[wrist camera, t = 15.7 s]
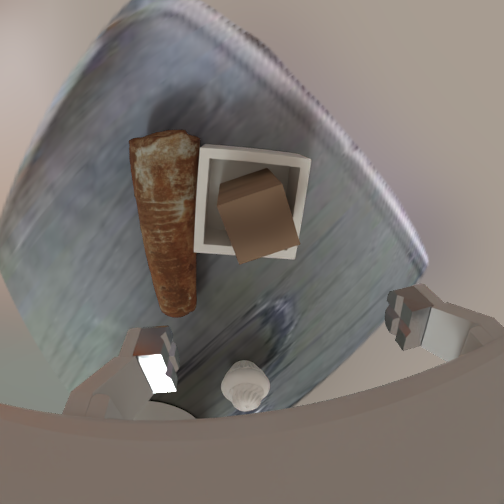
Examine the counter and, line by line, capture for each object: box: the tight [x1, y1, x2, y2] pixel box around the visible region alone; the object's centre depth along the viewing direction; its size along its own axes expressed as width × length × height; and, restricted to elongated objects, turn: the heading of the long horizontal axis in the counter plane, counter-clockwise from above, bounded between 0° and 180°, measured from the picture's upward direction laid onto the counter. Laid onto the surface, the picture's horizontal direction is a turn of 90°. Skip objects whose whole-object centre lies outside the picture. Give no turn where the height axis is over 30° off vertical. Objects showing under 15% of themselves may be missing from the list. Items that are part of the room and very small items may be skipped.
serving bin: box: [194, 144, 311, 259], centre depth 26 cm, size 9×9×5 cm
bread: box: [129, 130, 200, 317], centre depth 27 cm, size 6×19×6 cm, turn 177°
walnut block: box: [217, 168, 300, 265], centre depth 24 cm, size 5×5×8 cm
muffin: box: [221, 360, 270, 411], centre depth 35 cm, size 6×6×7 cm
